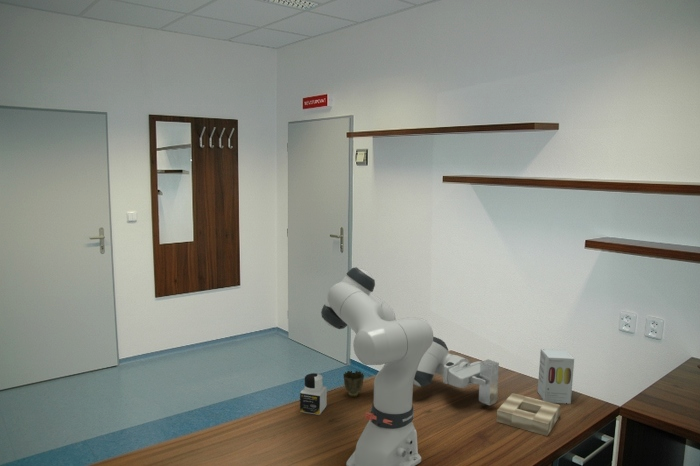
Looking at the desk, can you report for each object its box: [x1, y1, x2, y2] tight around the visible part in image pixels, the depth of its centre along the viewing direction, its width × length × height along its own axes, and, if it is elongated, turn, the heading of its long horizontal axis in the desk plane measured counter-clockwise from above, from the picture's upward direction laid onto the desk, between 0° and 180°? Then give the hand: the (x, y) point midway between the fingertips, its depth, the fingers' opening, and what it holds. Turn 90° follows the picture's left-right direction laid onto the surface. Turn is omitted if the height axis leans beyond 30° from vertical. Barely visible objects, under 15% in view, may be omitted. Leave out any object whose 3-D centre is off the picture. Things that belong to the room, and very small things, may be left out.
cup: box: [343, 370, 365, 398], centre depth 189 cm, size 8×7×8 cm
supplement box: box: [537, 348, 575, 405], centre depth 189 cm, size 10×9×17 cm
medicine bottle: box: [299, 372, 328, 416], centre depth 178 cm, size 7×7×12 cm
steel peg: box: [478, 359, 500, 406], centre depth 180 cm, size 4×4×14 cm
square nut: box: [496, 392, 561, 437], centre depth 174 cm, size 16×16×4 cm
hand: (491, 380), depth 180 cm, fingers closed on steel peg, 4 cm apart
